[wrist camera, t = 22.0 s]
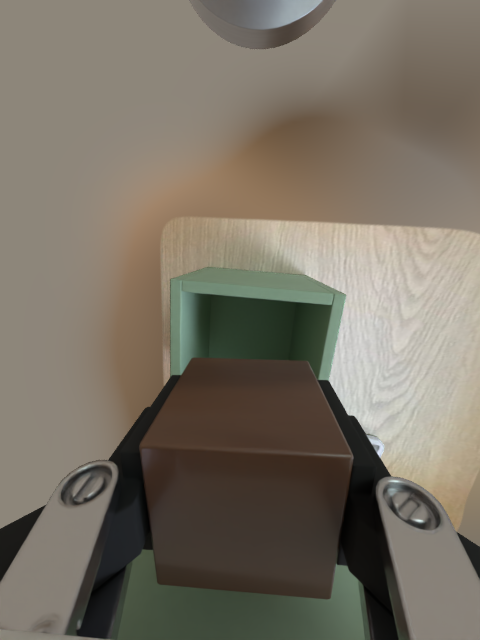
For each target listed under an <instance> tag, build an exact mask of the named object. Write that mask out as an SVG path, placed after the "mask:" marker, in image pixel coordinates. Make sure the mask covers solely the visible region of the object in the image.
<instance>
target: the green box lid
mask: <svg viewBox="0 0 480 640" xmlns="http://www.w3.org/2000/svg"><path fill="white" fill-rule="evenodd" d="M117 640H365V635H364V627H363V619H362V610H361V602H360V594H359V585H358V579H357V578H356V577H355V576H354V575H353V574H352V573H351V572H349V570H348V566H343V565H337V563H336V570H335V576H334V582H333V588H332V594H331V598H330V599H328V600H327V599H315V598H304V597H293V596H281V595H270V594H259V593H248V592H236V591H225V590H214V589H202V588H191V587H180V586H169V585H160V584H158V583H157V577H156V569H155V562H154V554H153V550H143V549H142V552H141V554H140V555H139V556H137V557H136V558H135V559H134V560H133V561H132V568H131V573H130V578H129V583H128V588H127V593H126V598H125V603H124V608H123V613H122V617H121V622H120V627H119V632H118V637H117Z"/></svg>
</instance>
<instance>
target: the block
mask: <svg viewBox="0 0 480 640" xmlns="http://www.w3.org/2000/svg"><path fill="white" fill-rule="evenodd" d="M139 450H140V458H141V465H142V472H143V480H144V487H145V495H146V502H147V510H148V517H149V525H150V532H151V539H152V547H153V554H154V562H155V569H156V577H157V583H158V584H160V585H169V586H180V587H191V588H202V589H214V590H225V591H236V592H248V593H259V594H270V595H281V596H293V597H304V598H315V599H327V600H328V599H330V598H331V594H332V588H333V582H334V576H335V570H336V563H337V557H338V551H339V545H340V539H341V532H342V526H343V520H344V514H345V508H346V502H347V495H348V489H349V483H350V477H351V471H352V464H353V454H352V452H351V450H350V448H349V446H348V443H347V441H346V439H345V437H344V435H343V433H342V431H341V429H340V427H339V425H338V423H337V420H336V418H335V416H334V414H333V412H332V410H331V408H330V406H329V404H328V402H327V400H326V397H325V395H324V393H323V391H322V389H321V387H320V385H319V383H318V381H317V379H316V377H315V375H314V372H313V370H312V368H311V366H310V364H309V362H308V361H295V360H262V359H229V358H195V357H194V358H191V360H190V362H189V363H188V365H187V367H186V368H185V370H184V372H183V373H182V375H181V377H180V378H179V380H178V381H177V383H176V385H175V386H174V388H173V390H172V391H171V393H170V395H169V396H168V398H167V400H166V401H165V403H164V405H163V406H162V408H161V409H160V411H159V413H158V414H157V416H156V418H155V419H154V421H153V423H152V424H151V426H150V428H149V429H148V431H147V433H146V434H145V436H144V437H143V439H142V441H141V442H140V445H139Z"/></svg>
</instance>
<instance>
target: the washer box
mask: <svg viewBox="0 0 480 640" xmlns="http://www.w3.org/2000/svg"><path fill="white" fill-rule="evenodd" d="M345 299H346V294H344V293H341V292H339V291H337V290H335V289H333V288H331V287H329V286H327V285H325V284H323V283H321V282H319V281H317V280H315V279H313V278H311V277H308V276H306V275H296V274H284V273H273V272H261V271H249V270H238V269H226V268H215V267H206V268H203V269H200V270H197V271H194V272H191V273H188V274H185V275H182V276H179V277H176V278H173V279H171V280H170V377H171V376H172V375H182V373H183V372H184V370H185V368H186V367H187V365H188V363H189V362H190V360H191V358H194V357H195V358H229V359H262V360H295V361H308V362H309V364H310V366H311V368H312V370H313V372H314V375H315V377H316V379H317V380H328V381H329V377H330V372H331V367H332V362H333V357H334V352H335V347H336V342H337V338H338V333H339V328H340V323H341V318H342V313H343V308H344V303H345Z"/></svg>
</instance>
